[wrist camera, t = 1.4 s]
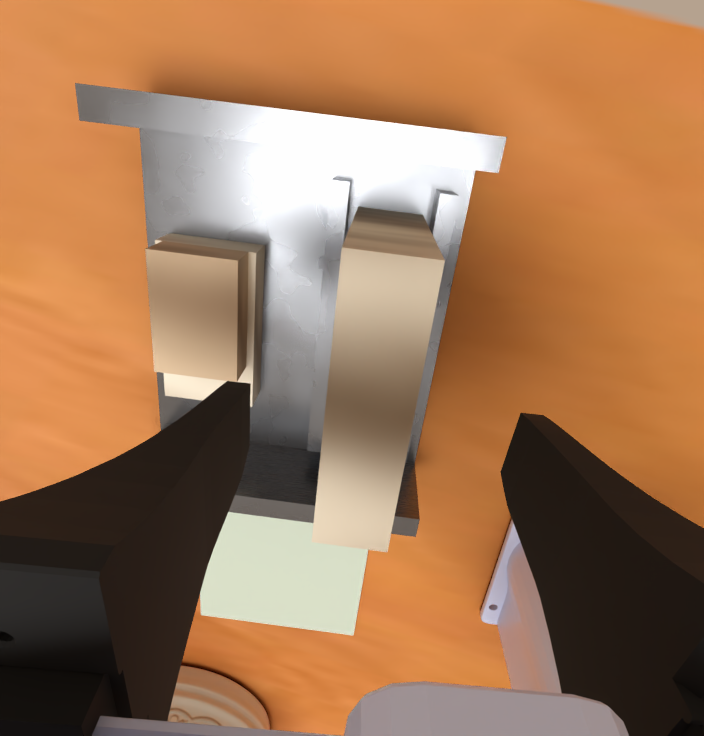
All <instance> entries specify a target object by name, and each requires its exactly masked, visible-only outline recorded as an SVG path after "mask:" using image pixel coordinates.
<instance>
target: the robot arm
mask: <svg viewBox="0 0 704 736" xmlns="http://www.w3.org/2000/svg"><path fill="white" fill-rule="evenodd" d="M250 389H251V383H242V382H232V381H227V382H225V383H224V384H223V385H221V386H220V387H219V388H218V389H216V390H215V391H214V392H213V393H211V394H210V395H209V396H208V397H206V398H205V399H204V400H203V401H201V402H200V403H199V404H198V405H196V406H195V407H194V408H193V409H191V410H190V411H189V412H187V413H186V414H185V415H183V416H182V417H181V418H179V419H178V420H177V421H175V422H174V423H172V424H171V425H169V426H168V427H166V428H165V429H163V430H162V431H161V432H159V433H158V434H156V435H155V436H153V437H151V438H150V439H148V440H147V441H145V442H143V443H141V444H140V445H138V446H136V447H134V448H133V449H131V450H129V451H127V452H125V453H123V454H121V455H120V456H118V457H116V458H114V459H112V460H109V461H107V462H105V463H103V464H101V465H98V466H96V467H94V468H92V469H90V470H87V471H85V472H83V473H81V474H79V475H76V476H74V477H71V478H69V479H66V480H63V481H61V482H58V483H56V484H53V485H50V486H47V487H45V488H42V489H39V490H36V491H33V492H30V493H27V494H24V495H21V496H18V497H15V498H11V499H8V500H4V501H1V502H0V736H339V735H327V734H315V733H303V732H291V731H279V730H266V729H254V728H242V727H230V726H218V725H206V724H194V723H182V722H169V721H167V720H168V716H169V712H170V708H171V703H172V699H173V695H174V691H175V687H176V683H177V679H178V675H179V671H180V667H181V663H182V659H183V655H184V651H185V647H186V643H187V639H188V636H189V632H190V628H191V624H192V621H193V617H194V613H195V610H196V606H197V602H198V599H199V595H200V591H201V588H202V584H203V581H204V577H205V574H206V570H207V567H208V564H209V561H210V558H211V555H212V552H213V549H214V547H215V544H216V542H217V539H218V537H219V534H220V532H221V529H222V527H223V524H224V522H225V519H226V517H227V514H228V512H229V509H230V507H231V504H232V501H233V499H234V496H235V494H236V491H237V489H238V486H239V484H240V481H241V478H242V474H243V471H244V467H245V463H246V459H247V455H248V450H249V446H250ZM501 477H502V482H503V487H504V492H505V497H506V501H507V506H508V509H509V512H510V514H511V517H512V520H511V523H510V526H509V529H508V532H507V535H506V538H505V541H504V544H503V547H502V550H501V552H500V555H499V558H498V561H497V564H496V567H495V570H494V573H493V576H492V579H491V582H490V585H489V588H488V591H487V594H486V597H485V600H484V603H483V606H482V609H481V612H480V616H481V620H482V621H483V622H485V623H488V624H496V625H497V626H498V630H499V635H500V639H501V643H502V648H503V652H504V657H505V661H506V665H507V670H508V674H509V679H510V683H511V687H512V689H505V688H493V687H482V686H470V685H459V684H447V683H436V682H408V683H392V684H389V685H387V686H385V687H382V688H380V689H377V690H375V691H372V692H370V693H368V694H366V695H365V696H364V697H363V698H362V699H361V700H360V701H359V702H358V704H357V705H356V706H355V708H354V709H353V710H352V712H351V713H350V714H349V716H348V719H347V724H346V728H345V733H344V736H704V528H702V527H700V526H698V525H697V524H695V523H693V522H691V521H690V520H688V519H686V518H684V517H683V516H681V515H679V514H678V513H676V512H675V511H673V510H671V509H670V508H668V507H667V506H665V505H663V504H662V503H660V502H659V501H657V500H655V499H654V498H652V497H651V496H649V495H648V494H646V493H645V492H643V491H642V490H641V489H639V488H638V487H636V486H635V485H634V484H632V483H631V482H629V481H628V480H627V479H625V478H624V477H622V476H621V475H620V474H618V473H617V472H616V471H614V470H613V469H612V468H610V467H609V466H608V465H607V464H605V463H604V462H603V461H601V460H600V459H599V458H598V457H596V456H595V455H594V454H593V453H591V452H590V451H589V450H588V449H586V448H585V447H584V446H583V445H581V444H580V443H579V442H578V441H576V440H575V439H574V438H573V437H571V436H570V435H569V434H568V433H567V432H565V431H564V430H563V429H561V428H560V427H559V426H558V425H556V424H555V423H554V422H552V421H551V420H550V419H548V418H547V417H545V416H544V415H536V414H526V413H521V414H520V417H519V420H518V423H517V426H516V429H515V431H514V434H513V437H512V440H511V443H510V446H509V449H508V452H507V455H506V458H505V461H504V464H503V467H502V469H501ZM492 604H494V605H492Z"/></svg>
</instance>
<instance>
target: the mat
mask: <svg viewBox="0 0 704 736" xmlns="http://www.w3.org/2000/svg"><path fill="white" fill-rule="evenodd" d="M312 533H313V523H308V522H300V521H293V520H285V519H278V518H270V517H263V516H255V515H248V514H240V513H232V512H228V514H227V517H226V519H225V522H224V524H223V527H222V529H221V532H220V534H219V537H218V539H217V542H216V544H215V547H214V549H213V552H212V555H211V558H210V561H209V564H208V567H207V570H206V574H205V577H204V581H203V584H202V588H201V591H200V602H201V615H205V616H212V617H220V618H227V619H234V620H242V621H249V622H257V623H264V624H272V625H279V626H287V627H294V628H302V629H309V630H316V631H324V632H331V633H339V634H346V635H354V630H355V624H356V618H357V612H358V607H359V601H360V595H361V589H362V584H363V578H364V572H365V566H366V560H367V555H368V550H367V549H359V548H352V547H344V546H337V545H329V544H322V543H314V542H312Z"/></svg>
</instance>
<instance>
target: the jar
mask: <svg viewBox="0 0 704 736" xmlns="http://www.w3.org/2000/svg"><path fill="white" fill-rule="evenodd" d="M167 721H169V722H182V723H194V724H206V725H218V726H230V727H242V728H254V729H266V730H270V723H269V718H268V715H267V713H266V711H265V709H264V708H263V706H262V705H261V703H260V702H259V701H258V700H257V699H256V698H255V697H254V696H253V695H252V694H251V693H250V692H249V691H247V690H246V689H245V688H243V687H242V686H241V685H239V684H237V683H236V682H234V681H232V680H230V679H228V678H226V677H224V676H221V675H219V674H216V673H213V672H210V671H207V670H203V669H199V668H194V667H188V666H181V667H180V671H179V675H178V679H177V683H176V687H175V691H174V695H173V699H172V703H171V708H170V712H169V716H168V720H167Z"/></svg>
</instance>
